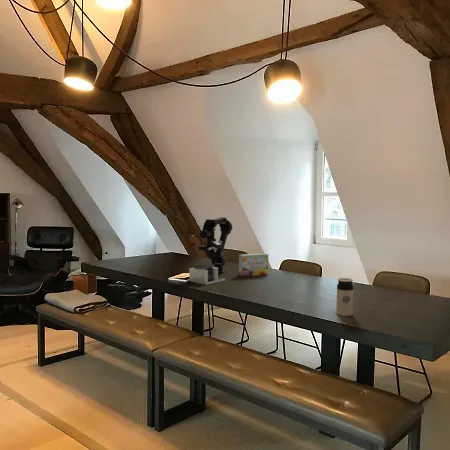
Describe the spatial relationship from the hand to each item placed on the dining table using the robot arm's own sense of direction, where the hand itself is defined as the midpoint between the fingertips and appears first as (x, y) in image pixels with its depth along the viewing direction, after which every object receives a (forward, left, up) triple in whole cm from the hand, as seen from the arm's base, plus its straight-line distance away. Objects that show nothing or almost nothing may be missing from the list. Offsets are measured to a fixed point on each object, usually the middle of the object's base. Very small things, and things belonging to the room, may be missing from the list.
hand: (210, 259), depth 352 cm
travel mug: (+28, +119, -12) cm, 123 cm away
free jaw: (+12, +10, -12) cm, 20 cm away
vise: (+15, +10, -12) cm, 22 cm away
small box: (+17, +10, -12) cm, 23 cm away
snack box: (-24, +20, -12) cm, 34 cm away
